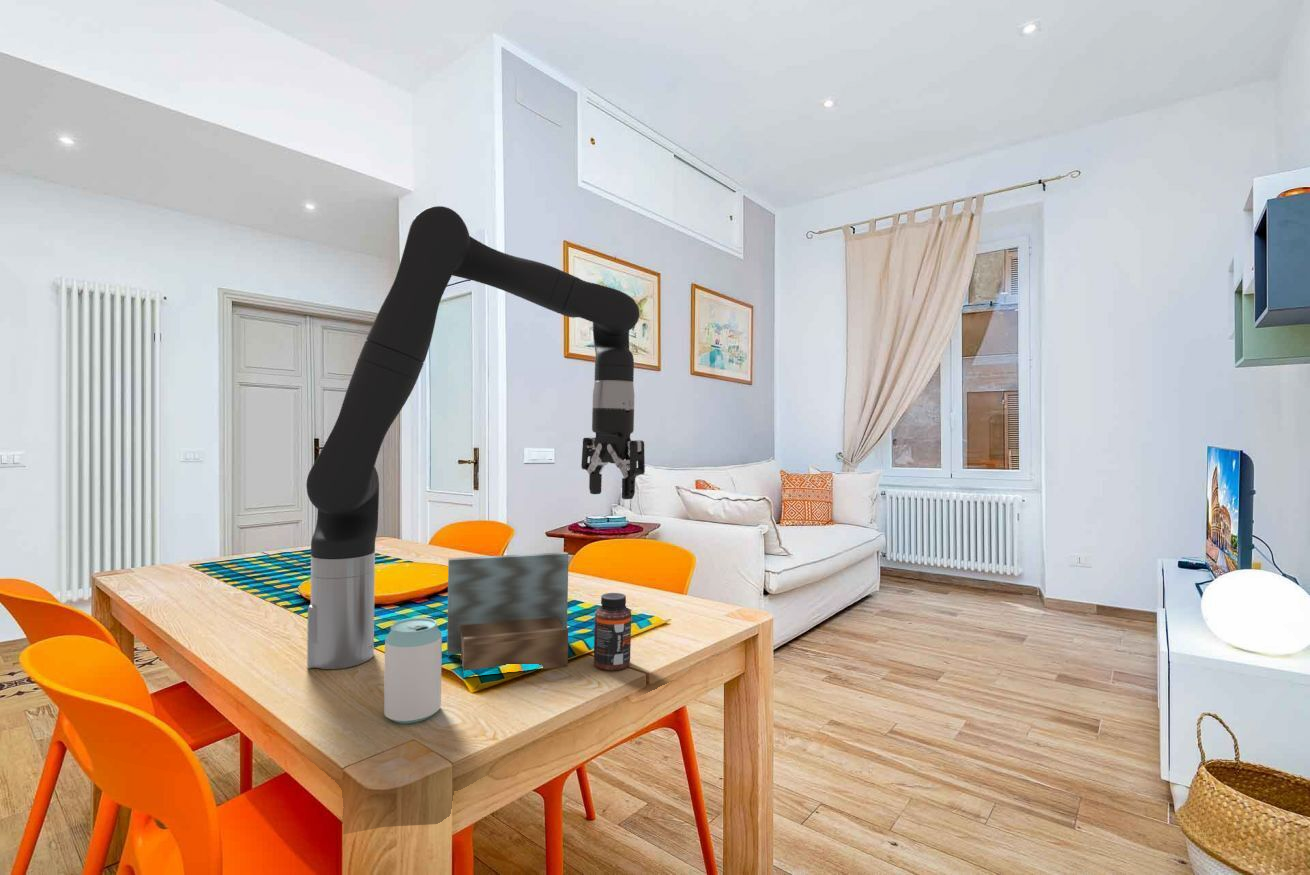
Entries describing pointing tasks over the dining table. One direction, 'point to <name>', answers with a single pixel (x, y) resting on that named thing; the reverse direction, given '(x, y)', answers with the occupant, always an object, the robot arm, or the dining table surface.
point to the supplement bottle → (612, 633)
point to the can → (412, 670)
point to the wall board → (508, 610)
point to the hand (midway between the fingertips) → (611, 496)
